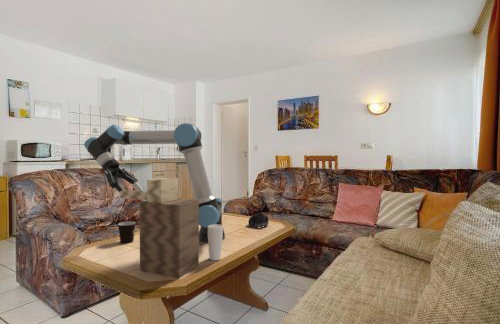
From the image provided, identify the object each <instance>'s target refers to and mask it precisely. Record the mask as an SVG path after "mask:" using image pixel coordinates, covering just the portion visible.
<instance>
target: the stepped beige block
mask: <svg viewBox="0 0 500 324" xmlns="http://www.w3.org/2000/svg"><path fill="white" fill-rule="evenodd" d="M146 186H147V187H146V188H147V189H146V191H143V192H142V191H136V190H126V189H125V191H120V193H119V194H120V195H119V196H120V199H129V200H139V201H141V200H142V201H147V202H154V203H164V202H168V201H172V200H176V199H179V196H178V195H179V192H178V191H179V190H178V189H179V179H178V177H177V178H176V177H175V178H173V177H161V178H152V179H146Z"/></svg>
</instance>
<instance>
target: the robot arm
mask: <svg viewBox="0 0 500 324" xmlns="http://www.w3.org/2000/svg"><path fill="white" fill-rule="evenodd" d="M201 140H202V132H201V130H200V129H199V128H198V127H197V126H195V125H194V124H193V123H188V122H187V123H186V122H184V123H181V124H178V125H177V126H176V128H175V129H174V130H123V129H122V128H121V127H120V126H118V125H117V124H112V125H110V126H108V127H107V128H106V130H104V131H103V132H102V133H101V134H100V135H99V136H98V137H96V136H91V137H90V138H88V139H86V140H85V141H84V146H83V147H84V148H85V149H86V151H87V152H88V153H89V154H90V155H91V156H92V158H93V159H94V160H95V161H96V162H97V164H98V166H100V167H101V168H102V170H103V171H104V172H103V173H104V175H105V178H106V180H107V182H108V184H109V187H111V188H112V189H116V190H117V191H118V193H119V194H120V191H125V190H126V189H125V188H124V187H123V186H122V184H121V183H119V179H123V180H124V181H125V182H128V183H129V184H131V185H132V186H131V187H133V188H134V189H135V191H142V192H145V191H144V189H143V188H142V187H141V185H140V184H138V178H136V176H134V175H133V174H132V173H130V172H128V171H127V170H126V169H125V168H124V167H123V168H122V169H121V168H120V163H119V162H118V161H117V159H116V158H115V157H114V156H113V155H112V154H111V152H110V151H109V150H110V148H112V147H113V146H114V145H121V146H127V145H177V146H178V150H179V153H181V154H182V155H183V157H184V160H185V164H186V167H187V171H188V175H189V178H190V182H191V187H192V192H193V194H194V198H195V200H199V226H200V227H199V242H200V241H202V242H204V243H205V242H207V243H208V226H209V225H214V224H218V225H222V226H223V222H222V221H223V216H222V215H223V212H222V211H223V209H222V208H223V201H222V200H223V199H222V198H221V197H216V196H214V195H213V194H212V190H211V186H210V183H209V177H208V175H207V170H206V168H205V163H204V161H203V160H204V159H203V156H202V152H201V149H202V148H203V144H202V141H201ZM225 238H226V233H225V230H224V229H223V237H222V241H223V240H225Z"/></svg>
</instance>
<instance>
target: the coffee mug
mask: <svg viewBox="0 0 500 324" xmlns="http://www.w3.org/2000/svg"><path fill="white" fill-rule="evenodd" d="M117 226H118V234H119V235H118V236H119V241H120V243H121V244H122V245H123V244H124V245H125V244H126V245H127V244H131V243H133V242H134V238H135V229H136V222H135V221H122V222H119V223H118V225H117Z"/></svg>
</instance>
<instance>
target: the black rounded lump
mask: <svg viewBox="0 0 500 324" xmlns="http://www.w3.org/2000/svg"><path fill="white" fill-rule="evenodd" d="M247 221H248V223H247V225H249V226H248V227H250V226H253V227H252V228H254V227H263V226H266V227H267V226H269V217H268V215H266V214H264V213H263V212H259V213H256V214H253V215H251V216H250V217H249V218H248V220H247ZM263 228H264V227H263Z"/></svg>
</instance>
